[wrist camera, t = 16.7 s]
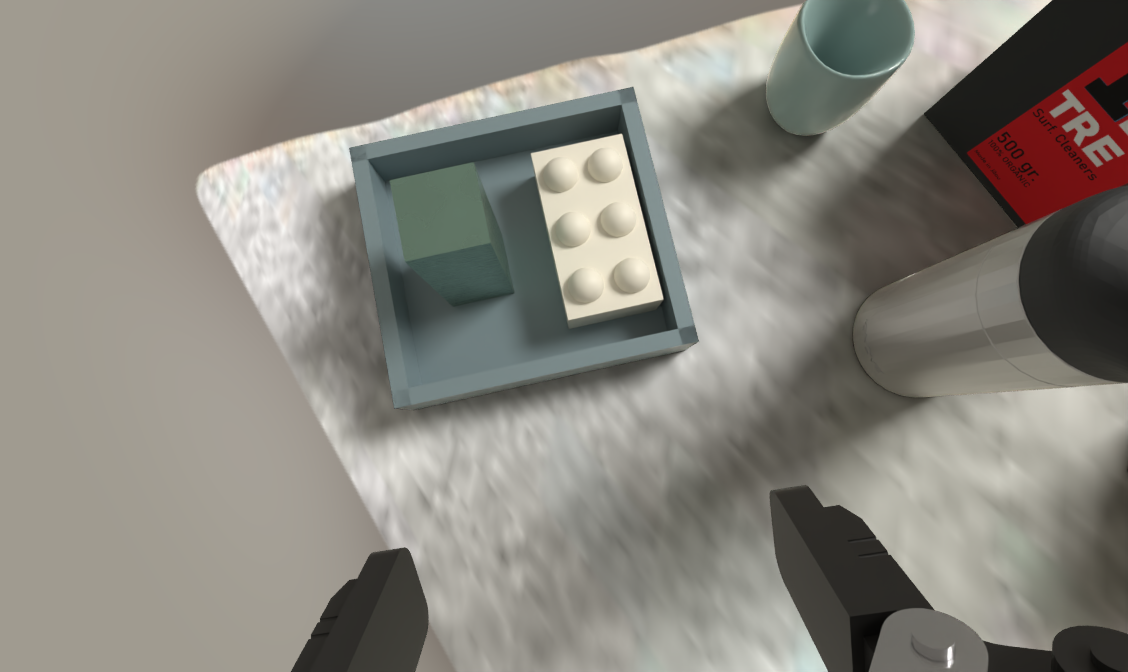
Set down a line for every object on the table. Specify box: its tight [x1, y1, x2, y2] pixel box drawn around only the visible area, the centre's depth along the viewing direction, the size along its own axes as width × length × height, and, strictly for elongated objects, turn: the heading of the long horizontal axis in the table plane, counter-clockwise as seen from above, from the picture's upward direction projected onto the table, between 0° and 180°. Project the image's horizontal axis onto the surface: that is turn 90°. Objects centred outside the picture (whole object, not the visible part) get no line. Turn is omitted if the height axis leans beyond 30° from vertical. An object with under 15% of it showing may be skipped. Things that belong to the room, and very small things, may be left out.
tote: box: [349, 87, 699, 410], centre depth 45 cm, size 22×20×5 cm
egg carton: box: [531, 134, 663, 329], centre depth 43 cm, size 7×13×5 cm, turn 12°
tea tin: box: [390, 162, 514, 307], centre depth 39 cm, size 5×5×13 cm
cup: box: [766, 0, 915, 136], centre depth 44 cm, size 8×8×10 cm
